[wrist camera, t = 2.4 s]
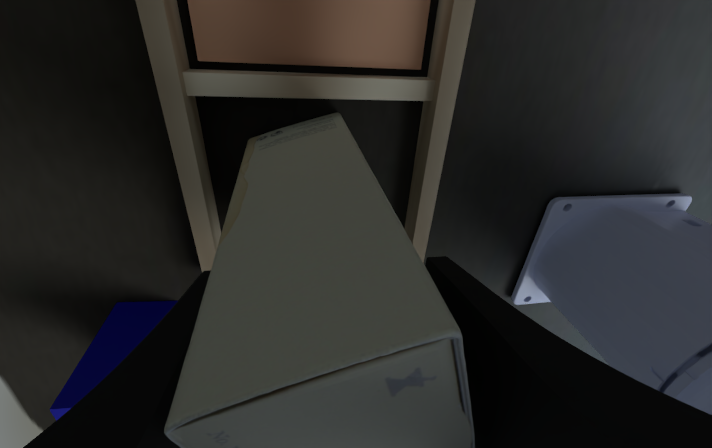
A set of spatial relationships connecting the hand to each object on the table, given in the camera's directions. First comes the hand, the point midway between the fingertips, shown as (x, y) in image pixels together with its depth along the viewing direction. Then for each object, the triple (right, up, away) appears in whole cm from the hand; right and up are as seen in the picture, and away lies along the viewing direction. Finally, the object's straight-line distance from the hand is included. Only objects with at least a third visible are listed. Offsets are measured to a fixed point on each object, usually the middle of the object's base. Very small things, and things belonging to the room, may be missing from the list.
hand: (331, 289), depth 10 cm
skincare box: (-1, +4, +6) cm, 8 cm away
